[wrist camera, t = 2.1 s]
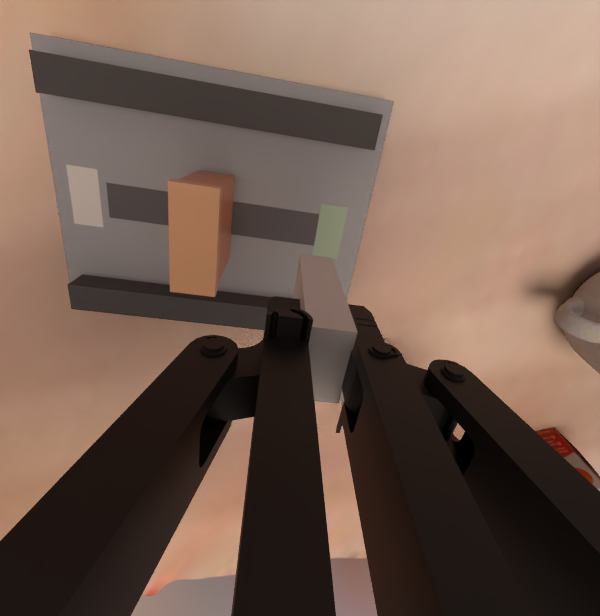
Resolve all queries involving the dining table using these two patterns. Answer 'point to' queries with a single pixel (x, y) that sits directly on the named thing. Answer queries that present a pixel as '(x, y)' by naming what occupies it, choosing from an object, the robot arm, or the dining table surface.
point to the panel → (208, 157)
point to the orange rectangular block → (199, 231)
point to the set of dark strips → (205, 107)
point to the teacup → (583, 321)
